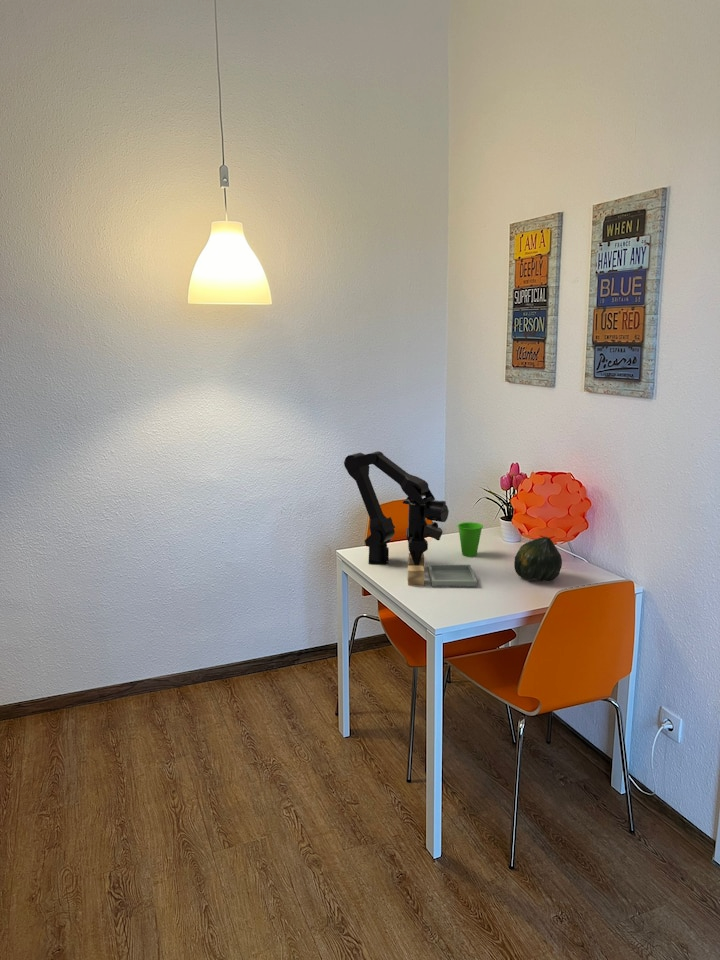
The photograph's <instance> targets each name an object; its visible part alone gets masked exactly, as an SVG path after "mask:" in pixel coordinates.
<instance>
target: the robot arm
mask: <svg viewBox="0 0 720 960" xmlns="http://www.w3.org/2000/svg"><path fill="white" fill-rule="evenodd" d="M343 465H344V468H345V470H346V471H347V473H348V475H349V476H350V477H351V478H352V479H353V480H354V481H355V482H356V486H357V488H358V491H359V493H360V496H361V499H362V501H363V504H364V507H365V509H366V511H367V515H368V517H369V532H370V535H368V537H367V538H365V540H364V543H365V546H366V547H368V564H369V565H377V564H378V565H387V564H388V561H389V559H390V557H389V556H390V555H389V553H390V552H389V550H390V549H389V547H388V544H389V543H390V542H391V539H392V538H393V537H394V535H395V533H396V531H395V528H396V526H395V525H394V522H393V519H392V517H391V516H389V517H387V516H385V514H384V512H383V510H382V507H381V504H380V501H379V500H378V497H377V494H376V492H375V489H374V486H373V484H372V483H373V482H372V480H371V478H370V465H374V466H375V467H376V468H378V469H379V470H380V471H382V472H383V473H384V474H385V475H386V476H387V477H389V478H390V479H392V480H393V481H394V482H396V484H398V485H399V486H400V488H401V491H402V493H404V494H405V495H406V496H407V497H406V498H405V499H404V500H403V501H402V504H405V505H408V516H407V517H408V519H407V522H408V523H407V525H408V527H407V528H406V529H405V531H406V535H405V536H406V539H407V540H406V541H407V544H408V545H407V547H408V553H410V554H411V557H412V559H413V562H414V564H415V566H419V564H420V560H421V556H422V553H425V552H427V550H428V549H429V544H428V540H427V539H428V537H429V538H432V539H434V540H436V541H440V540H441V537H442V536H443V529H442V527H439V523H438V522H440V523H445V522H446V521H447V520H448V517H449V508H448V505H446V504H447V502H446V500H436V498H435V496H434V494H433V493H432V491H431V490H430V488H429V483H428V482H427V481H426V480H424V479H422V478H420V477H419V476H417V475H413V474H410V473H409V472H407V471H406V470H404V469H403V468H402V467H400V466H399V465H397V463H395V462H394V461H392V460H391V459H390V458H388V457H387V456H386V455H385V454H384V453H383V452H382V451H379V450H378V451H374V452H370V453H366V454H364V453H362V452H357V453H352V454H349V455H347V456H346V457H345V458H344V461H343ZM427 520H428V521H433V522H432V523H428V522H427ZM425 538H426V539H425Z"/></svg>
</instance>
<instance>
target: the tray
mask: <svg viewBox="0 0 720 960" xmlns="http://www.w3.org/2000/svg"><path fill="white" fill-rule="evenodd" d="M427 566H428V570H427V571H428V574H429V578H430V583H431V587H432V588H477V587H478V581H477V578H476V575H475V573H474V571H473V568H472V566H471V564H428V565H427Z"/></svg>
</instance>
